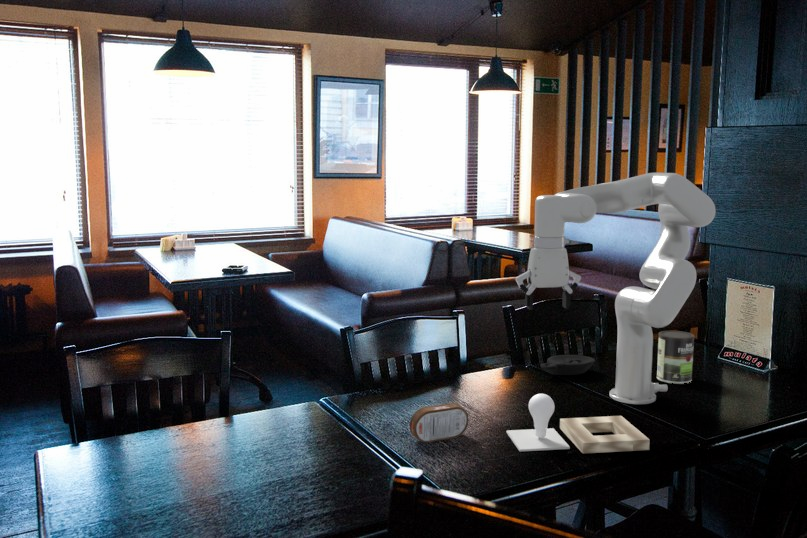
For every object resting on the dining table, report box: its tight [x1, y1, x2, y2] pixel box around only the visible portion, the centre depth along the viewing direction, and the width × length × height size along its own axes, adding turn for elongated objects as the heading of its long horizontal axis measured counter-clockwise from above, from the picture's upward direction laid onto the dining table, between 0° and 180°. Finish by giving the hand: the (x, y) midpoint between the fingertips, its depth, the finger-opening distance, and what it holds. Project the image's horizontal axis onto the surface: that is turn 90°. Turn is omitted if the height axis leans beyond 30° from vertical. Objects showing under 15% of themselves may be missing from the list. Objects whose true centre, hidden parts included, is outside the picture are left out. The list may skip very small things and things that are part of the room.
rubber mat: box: [506, 427, 571, 452], centre depth 176 cm, size 12×12×1 cm
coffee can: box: [656, 330, 695, 385], centre depth 223 cm, size 10×10×14 cm
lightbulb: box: [528, 393, 555, 439], centre depth 176 cm, size 6×6×11 cm
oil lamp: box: [539, 354, 596, 376], centre depth 230 cm, size 15×20×5 cm
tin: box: [409, 402, 470, 444], centre depth 177 cm, size 15×3×8 cm, turn 114°
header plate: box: [559, 415, 650, 454], centre depth 177 cm, size 16×16×2 cm
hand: (547, 308), depth 192 cm, fingers open, 9 cm apart
